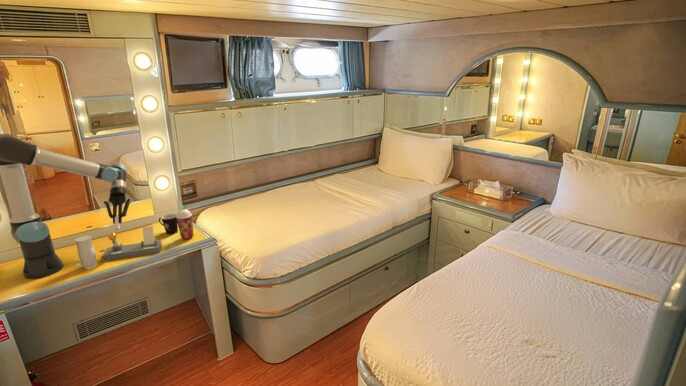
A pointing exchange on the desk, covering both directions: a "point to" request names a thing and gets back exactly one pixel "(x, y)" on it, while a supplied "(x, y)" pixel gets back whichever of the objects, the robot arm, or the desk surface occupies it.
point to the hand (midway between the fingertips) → (117, 228)
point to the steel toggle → (114, 240)
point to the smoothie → (185, 224)
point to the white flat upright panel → (148, 235)
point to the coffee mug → (170, 223)
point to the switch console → (132, 250)
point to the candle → (86, 252)
